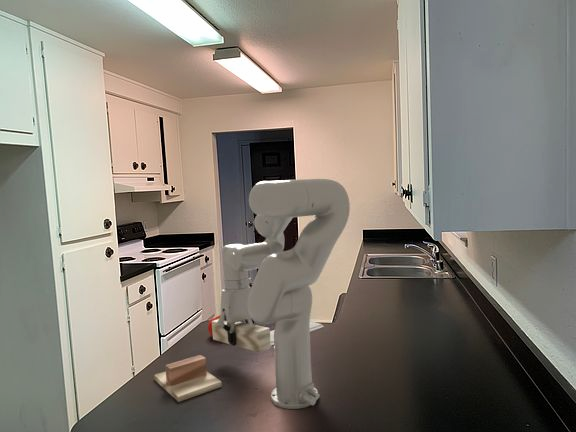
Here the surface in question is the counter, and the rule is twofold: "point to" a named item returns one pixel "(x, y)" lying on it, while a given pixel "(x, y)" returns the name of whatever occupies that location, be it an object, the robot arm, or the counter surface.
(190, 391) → the ridge stand
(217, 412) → the counter surface
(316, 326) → the baseboard molding
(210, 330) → the tomato
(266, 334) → the birch bar
